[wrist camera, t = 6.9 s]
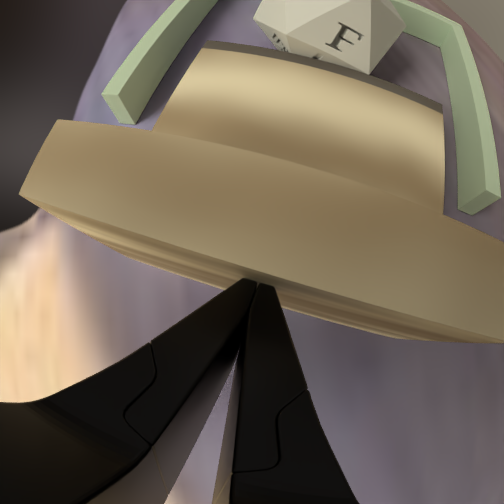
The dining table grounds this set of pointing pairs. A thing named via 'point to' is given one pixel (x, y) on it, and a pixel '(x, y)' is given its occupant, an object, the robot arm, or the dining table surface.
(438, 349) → the dining table surface
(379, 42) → the die
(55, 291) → the dining table surface
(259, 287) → the robot arm
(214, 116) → the block
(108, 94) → the fence
